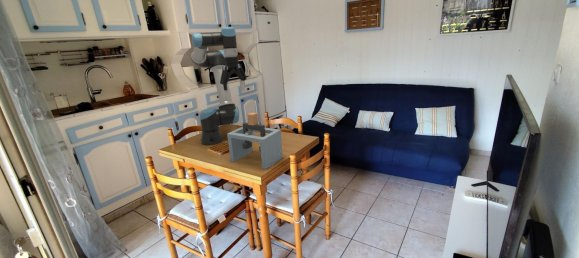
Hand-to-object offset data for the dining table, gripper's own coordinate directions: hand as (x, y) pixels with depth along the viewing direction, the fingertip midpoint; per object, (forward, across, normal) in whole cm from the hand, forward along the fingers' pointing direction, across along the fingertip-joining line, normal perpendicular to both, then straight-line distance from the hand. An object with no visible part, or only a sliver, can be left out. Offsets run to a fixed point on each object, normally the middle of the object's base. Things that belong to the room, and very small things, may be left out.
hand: (235, 93), depth 161 cm
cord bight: (+30, -6, -16) cm, 35 cm away
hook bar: (+21, -6, -16) cm, 27 cm away
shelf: (+37, -6, -16) cm, 40 cm away
